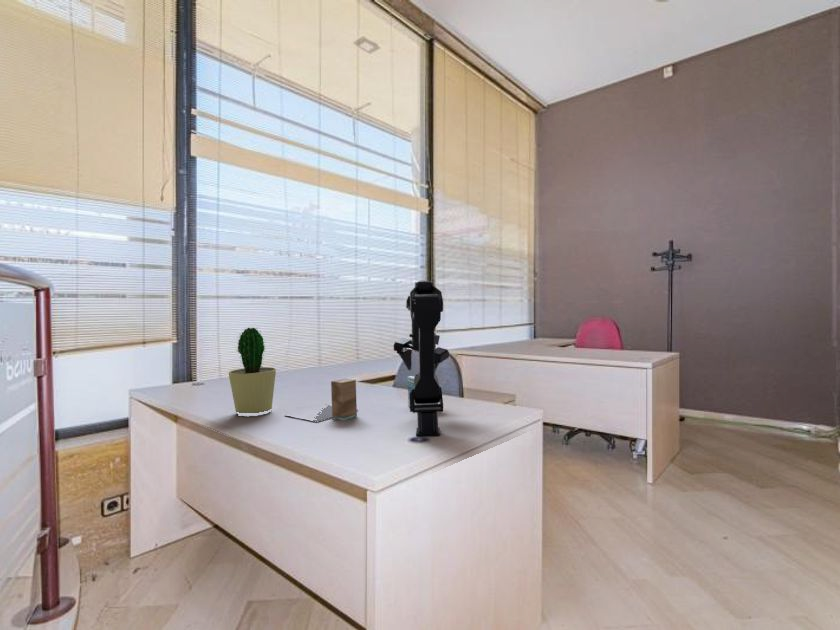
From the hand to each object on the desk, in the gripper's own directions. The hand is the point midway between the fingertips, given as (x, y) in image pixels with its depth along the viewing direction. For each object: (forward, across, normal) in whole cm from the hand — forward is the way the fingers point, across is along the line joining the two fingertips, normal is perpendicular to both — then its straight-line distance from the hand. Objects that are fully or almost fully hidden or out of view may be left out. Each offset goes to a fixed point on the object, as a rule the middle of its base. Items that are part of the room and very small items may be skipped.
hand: (420, 373), depth 149 cm
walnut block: (+11, +14, +22) cm, 29 cm away
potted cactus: (+15, +46, +34) cm, 59 cm away
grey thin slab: (+13, +25, +22) cm, 36 cm away
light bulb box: (+14, 0, 0) cm, 14 cm away
